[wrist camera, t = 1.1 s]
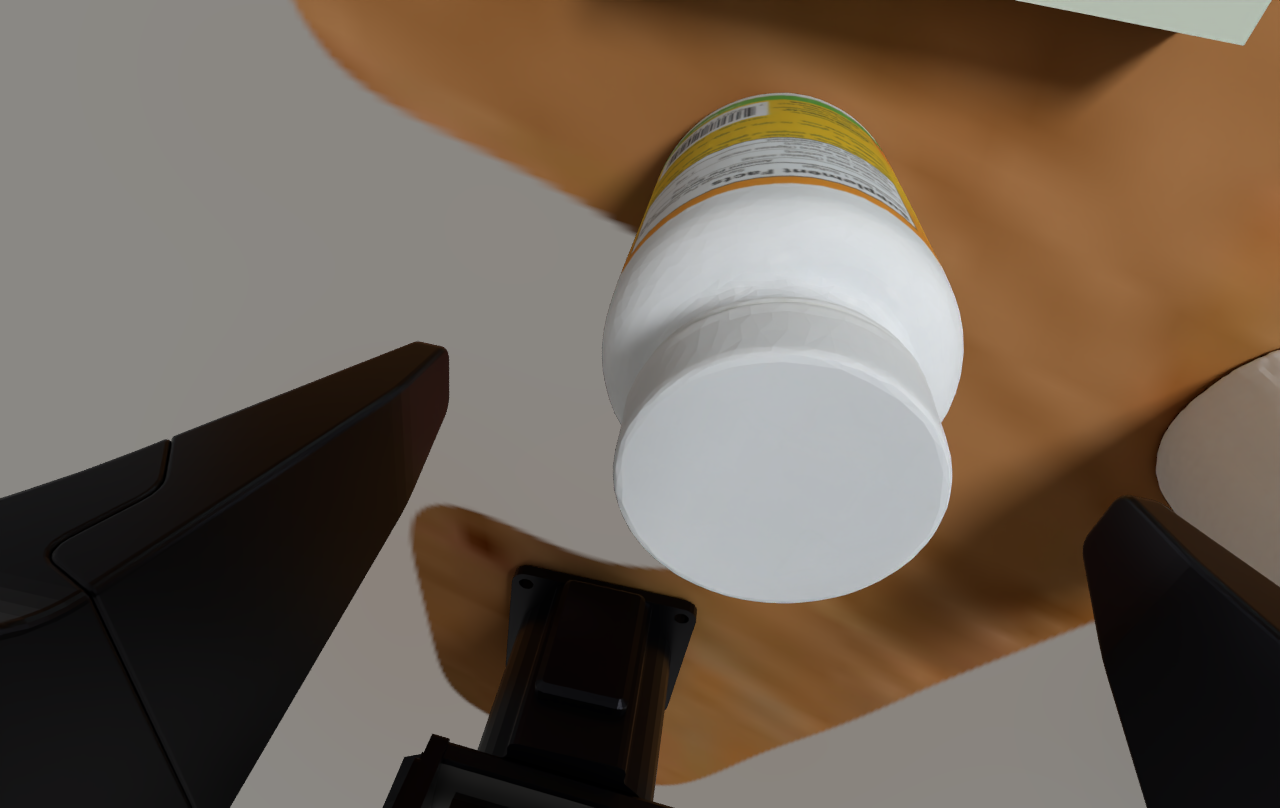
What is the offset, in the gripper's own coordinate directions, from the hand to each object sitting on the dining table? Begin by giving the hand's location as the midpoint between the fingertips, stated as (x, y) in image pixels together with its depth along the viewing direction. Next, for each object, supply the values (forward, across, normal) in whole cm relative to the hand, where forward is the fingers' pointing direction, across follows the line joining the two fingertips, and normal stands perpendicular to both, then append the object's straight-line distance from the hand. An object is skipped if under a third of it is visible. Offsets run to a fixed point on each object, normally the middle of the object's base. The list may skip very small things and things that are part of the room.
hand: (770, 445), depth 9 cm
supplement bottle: (+9, 0, 0) cm, 9 cm away
